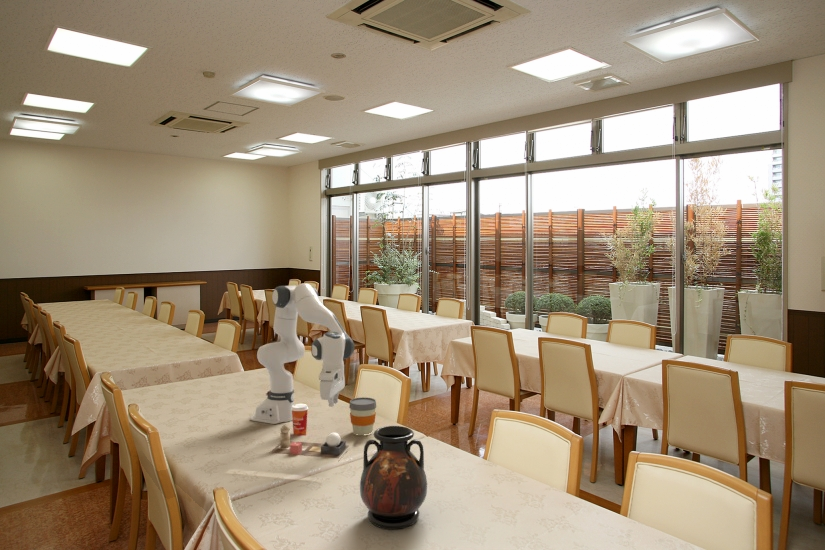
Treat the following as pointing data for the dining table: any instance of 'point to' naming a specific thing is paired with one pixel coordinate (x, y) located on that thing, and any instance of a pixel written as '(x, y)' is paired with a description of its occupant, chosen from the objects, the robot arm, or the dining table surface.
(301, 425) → the paper cup
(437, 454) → the dining table surface
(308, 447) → the game board
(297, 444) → the die
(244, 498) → the dining table surface
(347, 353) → the robot arm
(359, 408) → the reusable coffee cup
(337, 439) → the dome button
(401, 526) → the amphora vase
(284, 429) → the pawn
